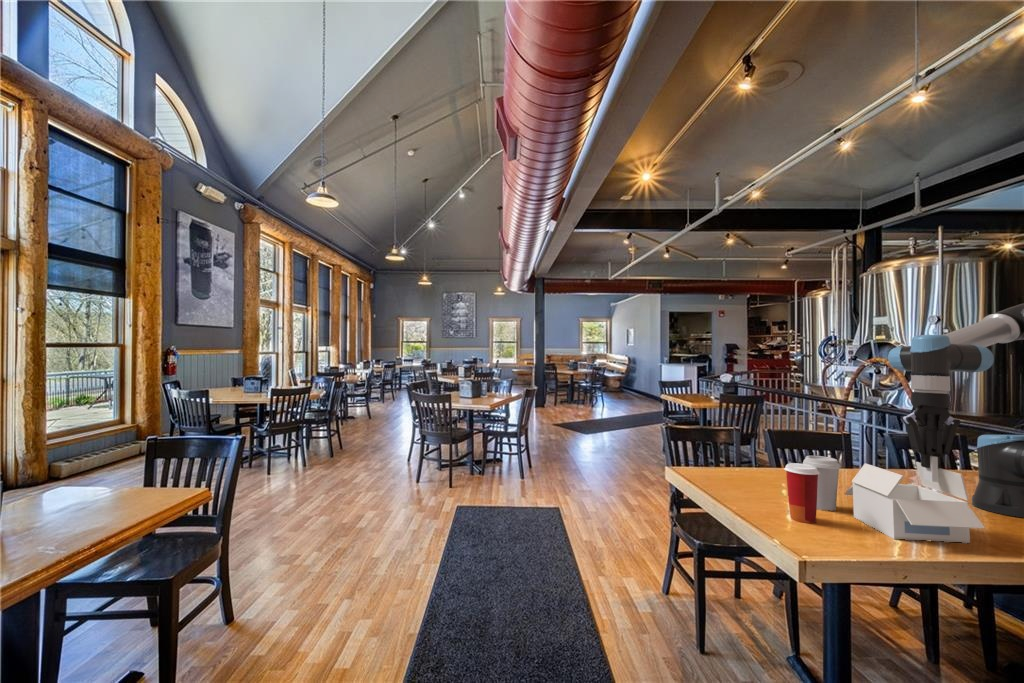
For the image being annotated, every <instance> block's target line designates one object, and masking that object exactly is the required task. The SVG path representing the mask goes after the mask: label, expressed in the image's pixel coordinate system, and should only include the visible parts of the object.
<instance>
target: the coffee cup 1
mask: <svg viewBox="0 0 1024 683" xmlns="http://www.w3.org/2000/svg"><path fill="white" fill-rule="evenodd" d="M783 470H784V471H785V474H786V485H787V486H786V487H787V496H788V499H787V500H788V506H789V516H790V519H791V520H793V521H796V522H799V523H803V524H816V522H817V510H818V509H817V486H818V474H819V472H818V470H817V468H816V467H815V466H811V465H807V464H803V463H795V462H792V463H791V462H789V463H787V464H786V465H785V467H784V468H783Z"/></svg>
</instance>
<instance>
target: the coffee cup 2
mask: <svg viewBox="0 0 1024 683" xmlns="http://www.w3.org/2000/svg"><path fill="white" fill-rule="evenodd" d="M802 464H807V465H811V466H815V467H816V468H817V470H818V472H819V474H818V486H817V510H819V509H821V510H820V511H824V510H830V511H829V512H834V511H833V510H835V511H837V502H838V501H837V499H838V498H837V497H838V484H839V471H840V469H841V468H842V467H841V464H840V463H839V461H838V459H836V458H834V457H830V456H829V457H827V456H824V455H822V456H821V455H806V456H805V457H804V459H803V462H802Z"/></svg>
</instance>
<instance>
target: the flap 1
mask: <svg viewBox="0 0 1024 683" xmlns="http://www.w3.org/2000/svg"><path fill="white" fill-rule="evenodd" d="M904 478H905V476H904V475H903V474H900V473H896V472H892V471H891V470H888V469H884V468H881V467H878V466H875V465H872V464H869V463H863V465H862V466H861V468H860V469H859V471H858V472H857V473H856V475H855V476H854V477H853V479H852V480H851V483H852V484H853V483H856V484H858V485H861V486H863V487H866V488H868V489H871V490H873V491H875V492H878V493H880V494H883V495H885V496H888V497H889V496H890V495H891V493H892V492H893V491H894V489H895V488H896V487H897V485H898V484H901V481H902V480H903V479H904Z"/></svg>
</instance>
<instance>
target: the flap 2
mask: <svg viewBox="0 0 1024 683" xmlns="http://www.w3.org/2000/svg"><path fill="white" fill-rule="evenodd" d="M915 465H916V469H917V472H918V473H917V474H918V477H919V482H920V486H922V487H925V488H928V489H931V490H934V491H936V492H939V493H942V494H945V495H948V496H951V497H954V498H957V499H960V500H963V501H964V500H965V501H970V499H969V495H968V492H967V487H966V483H965V480H964V476H963V474H962V473H960V472H955V471H953V470H947V469H944V468H942V467H940V468H939V469H938V482H932V481H929V480H926V479H924V467H922V466H921V461H920V462H919V461H915Z"/></svg>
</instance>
